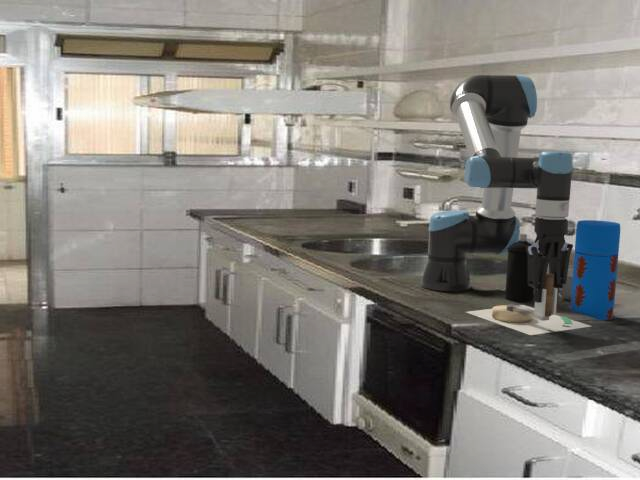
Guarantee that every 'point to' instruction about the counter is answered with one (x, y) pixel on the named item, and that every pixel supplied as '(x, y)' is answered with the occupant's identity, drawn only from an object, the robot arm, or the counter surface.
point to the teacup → (567, 286)
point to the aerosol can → (518, 272)
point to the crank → (522, 313)
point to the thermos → (595, 268)
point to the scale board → (533, 323)
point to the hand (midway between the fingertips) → (544, 314)
